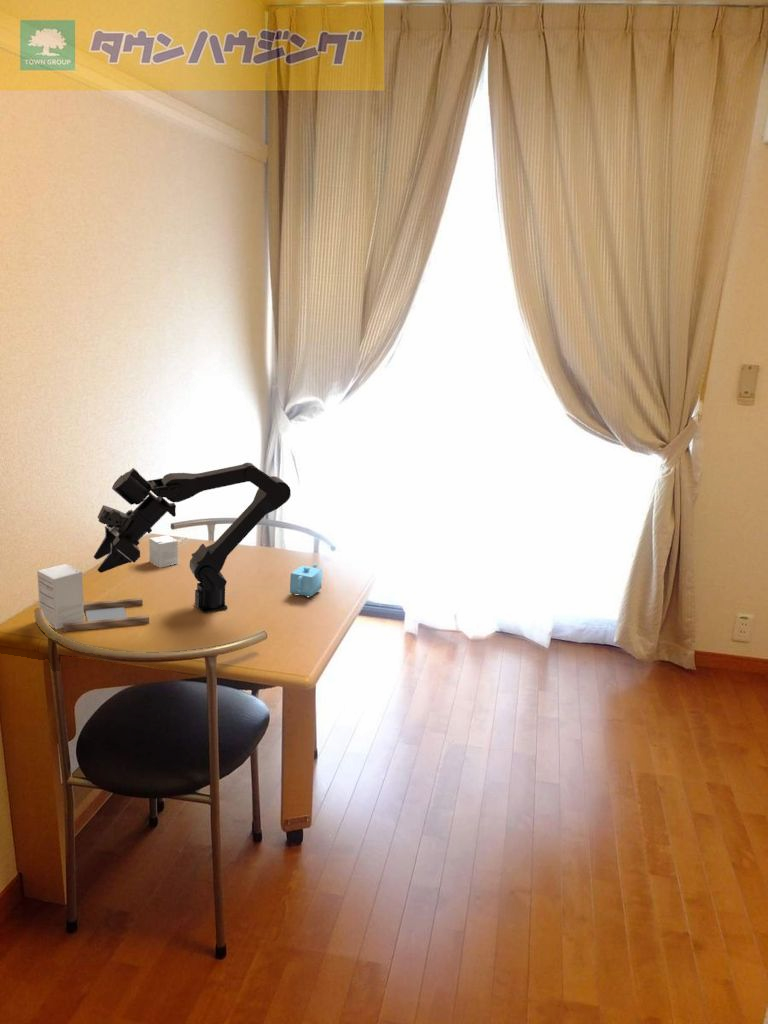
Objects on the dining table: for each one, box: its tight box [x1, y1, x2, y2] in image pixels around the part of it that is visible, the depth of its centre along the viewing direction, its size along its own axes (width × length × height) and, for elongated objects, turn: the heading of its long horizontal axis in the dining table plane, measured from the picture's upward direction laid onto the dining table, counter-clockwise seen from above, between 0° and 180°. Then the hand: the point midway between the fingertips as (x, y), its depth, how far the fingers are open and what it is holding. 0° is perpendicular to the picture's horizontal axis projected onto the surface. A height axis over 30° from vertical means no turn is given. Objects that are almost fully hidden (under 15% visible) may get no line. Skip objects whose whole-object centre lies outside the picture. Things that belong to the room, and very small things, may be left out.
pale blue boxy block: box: [289, 562, 323, 597], centre depth 218 cm, size 12×6×8 cm, turn 162°
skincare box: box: [148, 534, 179, 569], centre depth 231 cm, size 6×6×7 cm
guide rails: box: [62, 597, 150, 633], centre depth 194 cm, size 19×12×2 cm, turn 114°
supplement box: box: [36, 563, 85, 631], centre depth 189 cm, size 7×7×13 cm
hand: (97, 564), depth 190 cm, fingers open, 9 cm apart
